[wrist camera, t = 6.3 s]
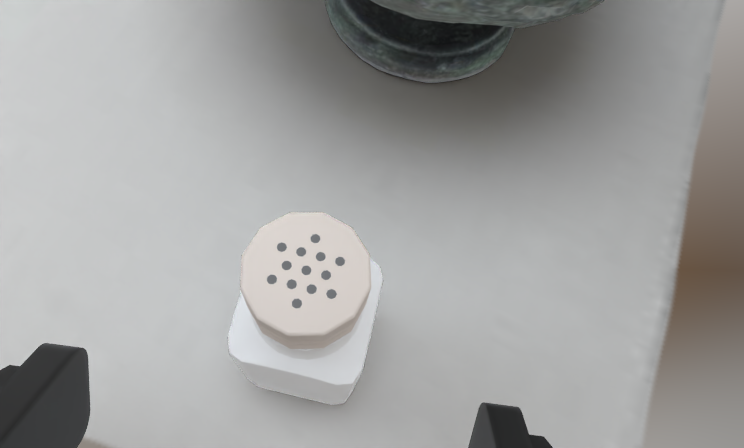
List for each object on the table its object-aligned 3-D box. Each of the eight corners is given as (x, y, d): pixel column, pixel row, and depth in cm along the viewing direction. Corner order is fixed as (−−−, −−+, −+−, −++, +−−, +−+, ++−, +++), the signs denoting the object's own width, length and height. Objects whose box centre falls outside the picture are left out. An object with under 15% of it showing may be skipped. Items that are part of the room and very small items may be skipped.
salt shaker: (273, 284, 24) (250, 178, 15) (370, 308, 24) (404, 216, 15) (243, 384, 22) (197, 331, 13) (347, 410, 22) (368, 372, 13)
